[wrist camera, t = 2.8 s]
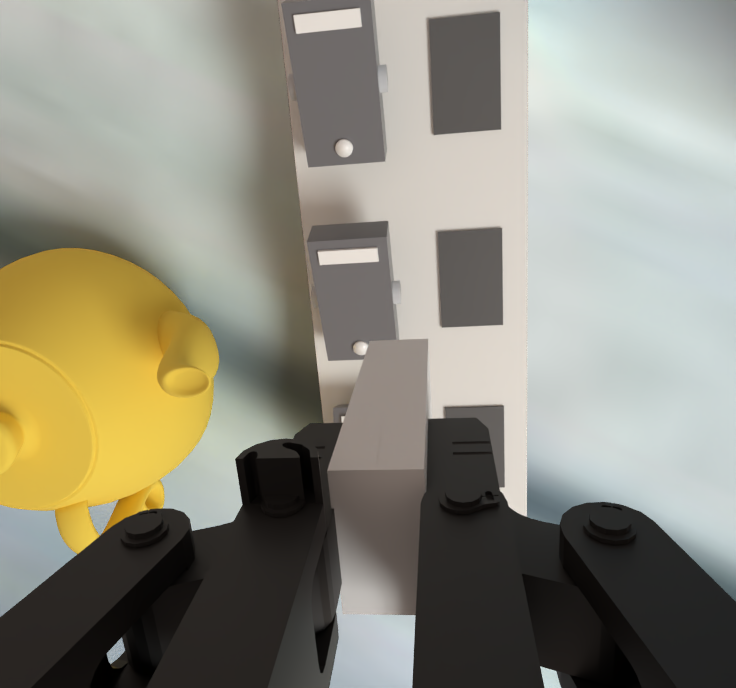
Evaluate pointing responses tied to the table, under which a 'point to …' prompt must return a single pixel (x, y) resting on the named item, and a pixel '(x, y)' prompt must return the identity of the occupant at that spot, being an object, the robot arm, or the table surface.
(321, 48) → the rocker
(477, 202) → the switch panel
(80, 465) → the teapot
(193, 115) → the table surface
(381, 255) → the rocker
